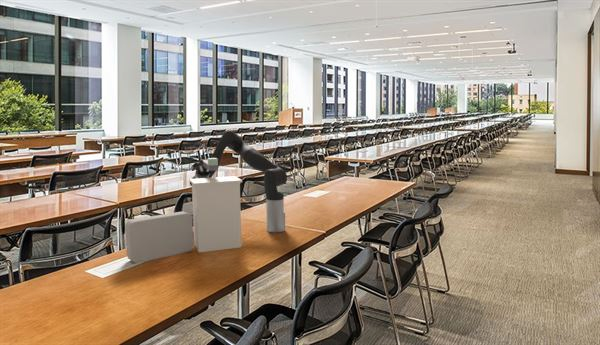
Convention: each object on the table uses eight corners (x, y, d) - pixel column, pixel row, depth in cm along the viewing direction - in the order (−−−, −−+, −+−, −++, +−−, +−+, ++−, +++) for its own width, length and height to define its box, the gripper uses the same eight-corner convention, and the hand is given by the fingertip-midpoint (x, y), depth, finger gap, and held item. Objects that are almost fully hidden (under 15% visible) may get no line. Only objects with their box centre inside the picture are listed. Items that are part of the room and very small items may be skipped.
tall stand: (236, 239, 226) (235, 176, 221) (243, 247, 213) (242, 180, 208) (192, 244, 218) (189, 179, 213) (196, 253, 205) (193, 183, 200)
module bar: (209, 164, 236) (208, 153, 235) (218, 170, 214) (217, 158, 213) (201, 164, 234) (200, 154, 233) (209, 170, 212) (209, 159, 211)
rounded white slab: (186, 246, 214) (184, 209, 212) (193, 250, 209) (192, 212, 206) (125, 259, 197) (122, 219, 194) (131, 264, 191) (128, 222, 188)
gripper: (188, 167, 244) (191, 154, 229) (214, 166, 249) (219, 153, 234) (189, 180, 241) (193, 168, 226) (216, 178, 246) (221, 166, 231)
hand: (206, 160), depth 230 cm, fingers closed on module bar, 4 cm apart
